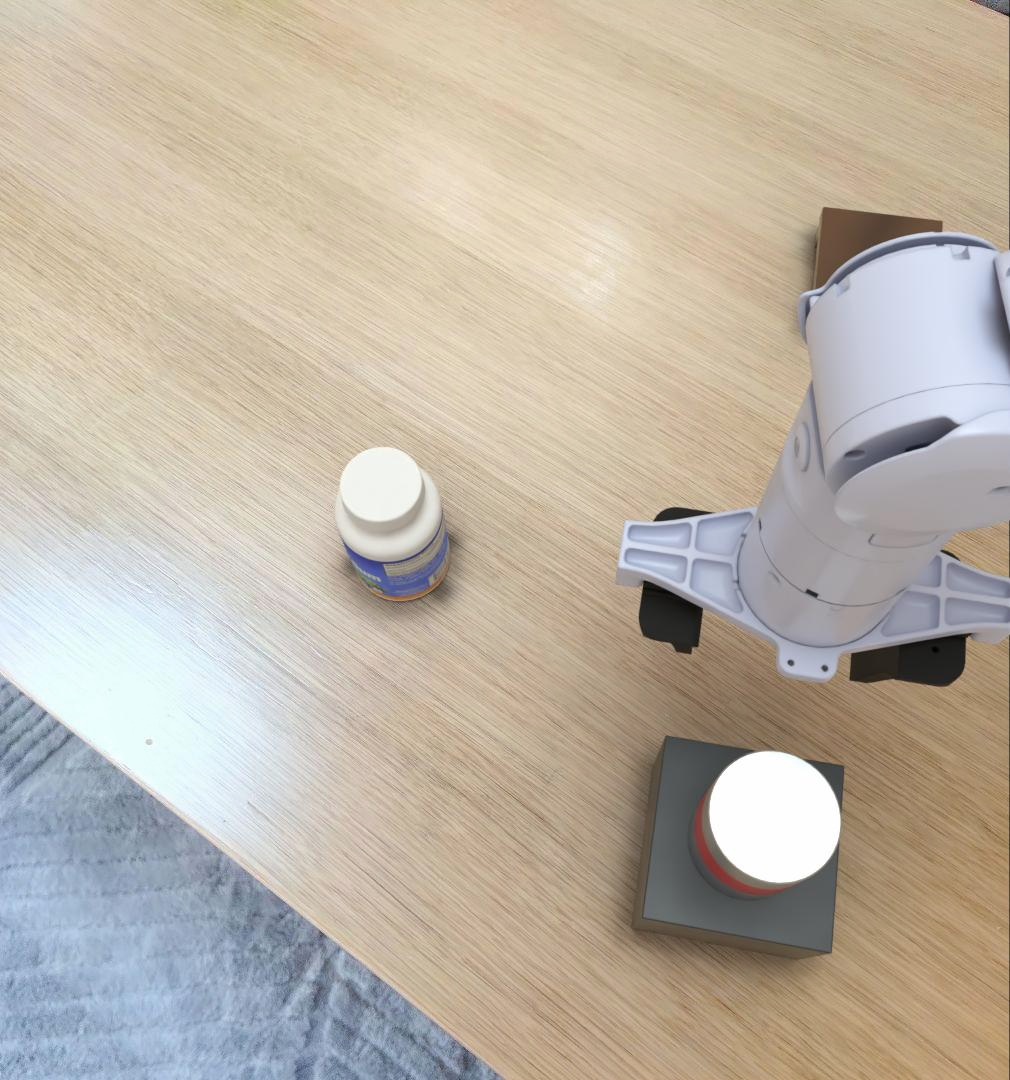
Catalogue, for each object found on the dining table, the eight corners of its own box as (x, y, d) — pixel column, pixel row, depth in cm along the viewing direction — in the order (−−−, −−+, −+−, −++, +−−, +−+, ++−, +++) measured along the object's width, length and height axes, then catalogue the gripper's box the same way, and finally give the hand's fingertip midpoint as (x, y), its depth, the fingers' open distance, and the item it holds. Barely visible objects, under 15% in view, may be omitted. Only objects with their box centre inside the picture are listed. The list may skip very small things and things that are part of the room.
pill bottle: (339, 539, 63) (303, 461, 54) (426, 497, 63) (405, 414, 54) (380, 621, 61) (350, 554, 52) (469, 577, 61) (454, 504, 52)
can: (808, 792, 49) (847, 761, 43) (799, 910, 48) (838, 896, 41) (694, 772, 50) (715, 738, 44) (680, 889, 48) (700, 871, 42)
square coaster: (811, 792, 56) (845, 765, 50) (798, 960, 53) (832, 954, 47) (652, 765, 57) (665, 734, 51) (631, 928, 54) (641, 918, 48)
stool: (930, 246, 68) (943, 220, 66) (925, 343, 66) (938, 319, 64) (814, 232, 69) (823, 206, 67) (805, 328, 67) (814, 303, 64)
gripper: (610, 603, 37) (595, 705, 49) (1070, 676, 35) (934, 762, 48) (640, 415, 39) (619, 557, 52) (1069, 476, 38) (940, 607, 50)
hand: (770, 646), depth 50 cm, fingers open, 7 cm apart
